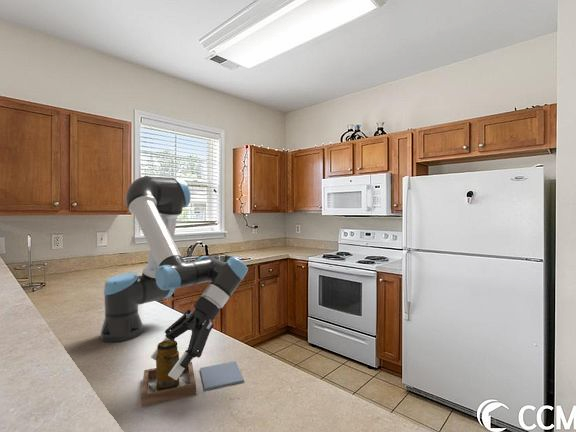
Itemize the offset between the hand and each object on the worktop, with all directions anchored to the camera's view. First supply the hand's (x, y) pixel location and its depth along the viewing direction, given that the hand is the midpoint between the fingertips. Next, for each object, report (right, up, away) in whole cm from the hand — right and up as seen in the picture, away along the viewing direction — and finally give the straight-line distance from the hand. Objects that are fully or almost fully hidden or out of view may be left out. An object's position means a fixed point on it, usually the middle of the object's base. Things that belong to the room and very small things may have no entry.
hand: (162, 368), depth 87 cm
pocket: (+1, -6, +1) cm, 6 cm away
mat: (+15, -5, +7) cm, 17 cm away
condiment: (+1, -6, +1) cm, 6 cm away
